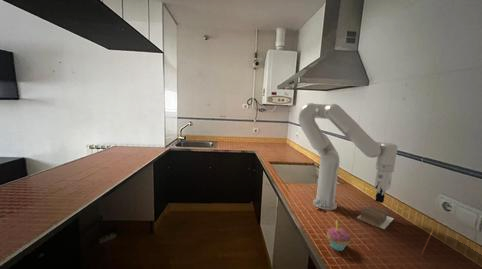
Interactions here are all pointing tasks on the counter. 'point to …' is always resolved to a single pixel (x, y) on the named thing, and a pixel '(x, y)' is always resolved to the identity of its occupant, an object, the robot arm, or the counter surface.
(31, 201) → the counter surface
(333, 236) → the cupcake
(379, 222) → the slab
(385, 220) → the mat
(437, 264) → the counter surface
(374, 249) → the counter surface
